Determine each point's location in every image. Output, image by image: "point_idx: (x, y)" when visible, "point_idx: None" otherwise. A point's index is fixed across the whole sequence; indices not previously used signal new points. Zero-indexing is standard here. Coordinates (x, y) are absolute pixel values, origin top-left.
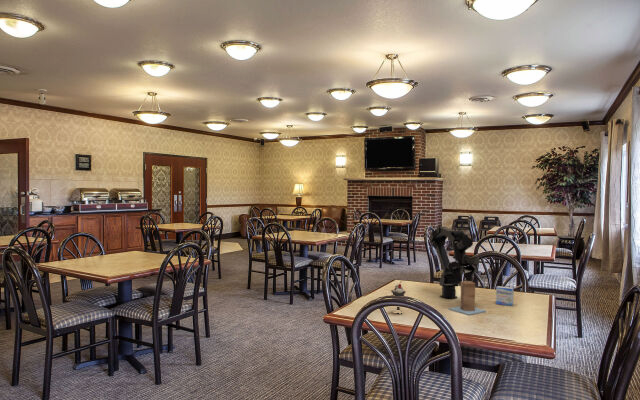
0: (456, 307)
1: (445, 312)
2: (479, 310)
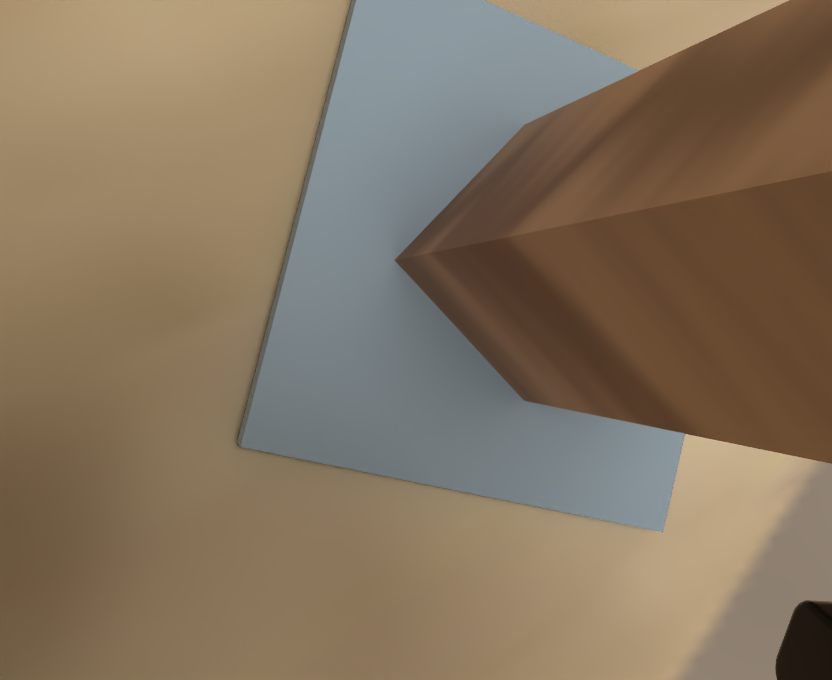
0: (526, 478)
1: (803, 469)
2: (447, 60)
